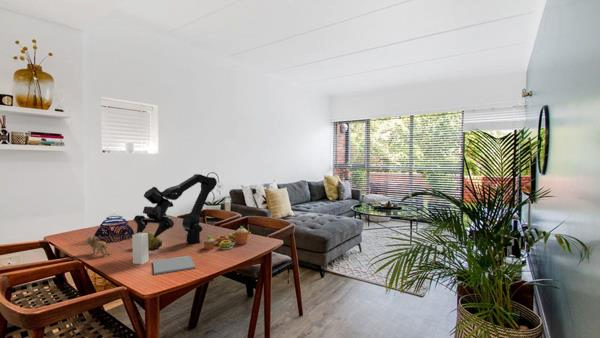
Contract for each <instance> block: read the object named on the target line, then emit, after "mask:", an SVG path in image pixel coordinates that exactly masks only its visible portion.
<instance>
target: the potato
mask: <svg viewBox="0 0 600 338" xmlns="http://www.w3.org/2000/svg"><path fill="white" fill-rule="evenodd" d="M142 233H148V250H149V249H150V250H153V249H159V248H161V246H162V245H163V240H162V239H161V238H160V237H159V236H157V237H156V238H154V234H155V233H154V234H153V233H152V232H150V231H143V232H142Z"/></svg>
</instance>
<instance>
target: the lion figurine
mask: <svg viewBox="0 0 600 338" xmlns="http://www.w3.org/2000/svg"><path fill="white" fill-rule="evenodd" d="M100 239H101V238H97V237H96V236H94V235H91V234H90V235H89V236H88V238H87V239H86V240H85V241H84V243H86V245H89V246H91V248H92V251H93V253H92V256H93V255H96V254H97V253H98V254H99V253H101V258H104V257H105V255H106V256H111V254H110V253H108V245H107V244H108V243H105V242H104V241H102V240H101V241H100ZM96 249H97V251H96Z"/></svg>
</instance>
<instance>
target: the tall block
mask: <svg viewBox="0 0 600 338" xmlns="http://www.w3.org/2000/svg"><path fill="white" fill-rule="evenodd" d="M131 241H132V264H135V265H137V264H138V265H143V264H145V263H147V262H149V249H148V233H143V232H142V233H140V232H139V233H137V232H136V233H134V235H132V238H131Z"/></svg>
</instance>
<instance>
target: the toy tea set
mask: <svg viewBox="0 0 600 338" xmlns="http://www.w3.org/2000/svg"><path fill="white" fill-rule="evenodd" d="M251 234H252V233H251V231H249V230H247V229H246V228H244V227H243V226H240V227H239V228H238V229H236V230H235V232H231V233H228V234H227V235H219V236H217V237H216V238H212V237H211V235H208V236H207V238H205V239H204V240H203V246H204V250H213V249H214V248H215V242H216V243H217V244H218V246H219V249H220V250H224V251H225V250H226V251H227V250H231V249H233V246H235V243H232V242H236V244H237V245H245V244H247V243H248V237H249V235H251Z"/></svg>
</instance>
